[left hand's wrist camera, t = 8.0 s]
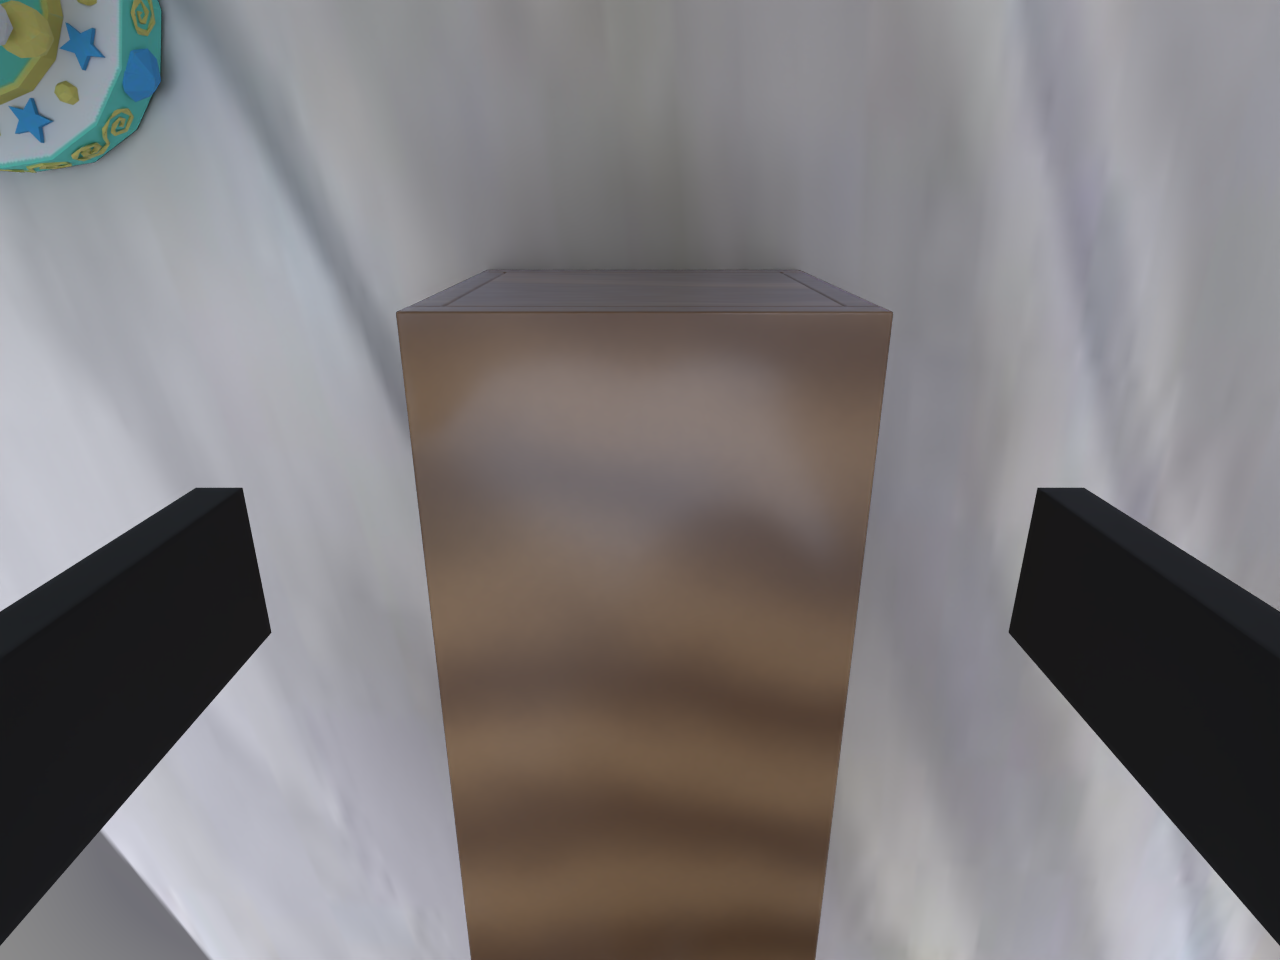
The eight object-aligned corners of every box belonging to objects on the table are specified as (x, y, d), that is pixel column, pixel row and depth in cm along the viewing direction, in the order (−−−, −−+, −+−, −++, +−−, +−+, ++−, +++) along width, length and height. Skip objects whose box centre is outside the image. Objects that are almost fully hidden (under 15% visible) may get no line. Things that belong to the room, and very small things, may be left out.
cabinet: (765, 744, 34) (815, 964, 24) (519, 744, 34) (471, 963, 24) (801, 270, 26) (894, 311, 17) (485, 269, 26) (395, 311, 17)
